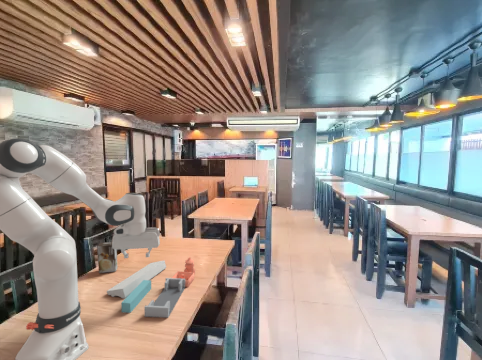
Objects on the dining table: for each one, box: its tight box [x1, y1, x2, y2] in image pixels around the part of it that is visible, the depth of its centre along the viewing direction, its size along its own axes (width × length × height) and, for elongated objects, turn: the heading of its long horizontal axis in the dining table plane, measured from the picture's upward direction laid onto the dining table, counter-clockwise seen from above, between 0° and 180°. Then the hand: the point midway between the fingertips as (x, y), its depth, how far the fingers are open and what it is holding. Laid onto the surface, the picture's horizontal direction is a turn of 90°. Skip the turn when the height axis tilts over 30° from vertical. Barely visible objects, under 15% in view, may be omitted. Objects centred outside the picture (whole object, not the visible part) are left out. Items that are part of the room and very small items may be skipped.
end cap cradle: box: [143, 277, 186, 319], centre depth 115 cm, size 25×10×5 cm, turn 177°
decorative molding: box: [106, 260, 167, 300], centre depth 134 cm, size 34×5×10 cm
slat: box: [120, 279, 152, 314], centre depth 116 cm, size 20×4×5 cm, turn 175°
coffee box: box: [96, 241, 119, 274], centre depth 146 cm, size 9×6×16 cm
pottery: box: [171, 257, 196, 288], centre depth 137 cm, size 18×10×10 cm, turn 171°
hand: (137, 257), depth 114 cm, fingers open, 8 cm apart
